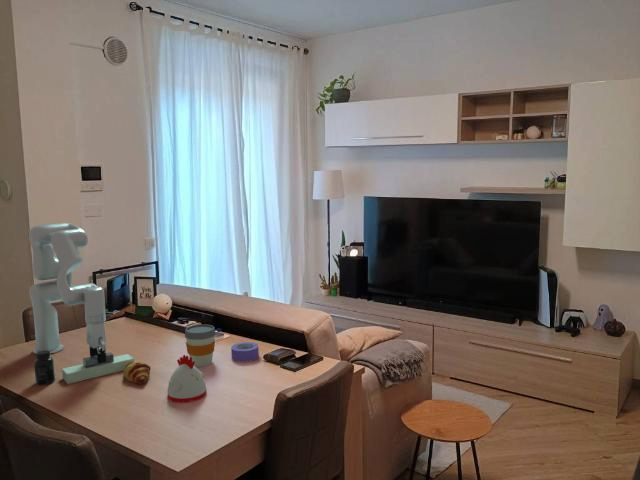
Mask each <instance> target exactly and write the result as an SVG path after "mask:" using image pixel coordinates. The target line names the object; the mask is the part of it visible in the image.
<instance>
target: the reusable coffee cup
mask: <svg viewBox="0 0 640 480" xmlns="http://www.w3.org/2000/svg"><path fill="white" fill-rule="evenodd" d="M215 335H216V329H215V326H214V325H211V324H194V325H190V326H188V327H186V328H185V331H184V338H185V340H186V341H185V345H186V351H187V355H188V358H190V357H192V362H193V361H195V363H194V366H195V367H196V368H198V367H207V366H209V365H211V364H212V363H213V355H214V354H213V353H214V352H215V343H216V339H215Z"/></svg>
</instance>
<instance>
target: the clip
mask: <svg viewBox="0 0 640 480" xmlns="http://www.w3.org/2000/svg"><path fill="white" fill-rule="evenodd" d="M114 357H115V356H114V354H113V353H112V352H106V362H103V363H98V360H97V355H96V356H88V357H82V364H83V366H84V367H85V368H88V367H93V366H96V365H100V364H106V363H110V362H114Z"/></svg>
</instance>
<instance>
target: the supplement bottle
mask: <svg viewBox="0 0 640 480" xmlns="http://www.w3.org/2000/svg"><path fill="white" fill-rule="evenodd" d="M35 355H36V356H35V358H36V359H35V360H34V363H33V366H34V367H33V369H34V378H35V379H34V380H35V384H36V385H39V386H45V385H49V384H52V383H54V382H55V381H56V374H55V361H54V358H53V357H51V354H50V351H48V350H45V351H39V352H37V353H36V354H35Z"/></svg>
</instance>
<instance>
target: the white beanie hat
mask: <svg viewBox="0 0 640 480" xmlns="http://www.w3.org/2000/svg"><path fill="white" fill-rule="evenodd" d="M176 361H177V365H178V366H177V368H176V367H175V370H174V371H173V373H172V374H171V376H170V379H169V381H168V387H167V399H168V400H169V401H171V402H173V403H178V404H179V403H180V404H183V403H185V404H186V403H191V402H192V403H193V402H195V401H200V400H201V399H203V398H205V396H207V393H208V392H207V386H206V382H205V375H204V373H203V372H202V371H200V370H199V369H198V367H196V366H194V363H195V361H193V362H192V357H190V358H189V355H185V354H184V355H182V356H180V357H179V358H178V359H177V360H176Z"/></svg>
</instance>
